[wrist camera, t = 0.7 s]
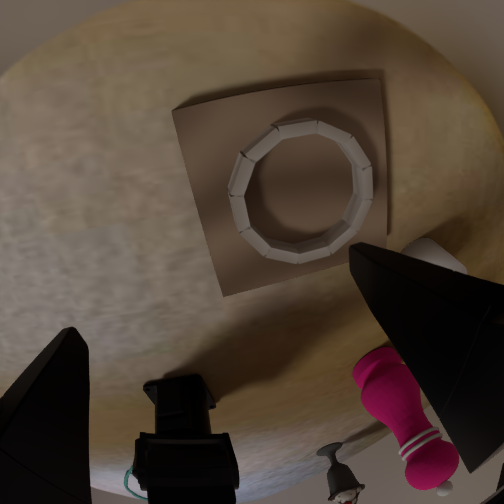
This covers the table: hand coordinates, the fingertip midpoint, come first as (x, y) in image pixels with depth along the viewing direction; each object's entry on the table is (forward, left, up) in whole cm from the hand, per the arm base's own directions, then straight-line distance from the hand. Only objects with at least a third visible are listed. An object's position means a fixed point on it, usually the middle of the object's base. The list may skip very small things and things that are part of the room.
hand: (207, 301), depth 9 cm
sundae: (-51, -9, -14) cm, 54 cm away
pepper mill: (-27, -15, -14) cm, 34 cm away
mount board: (-2, -7, -14) cm, 15 cm away
